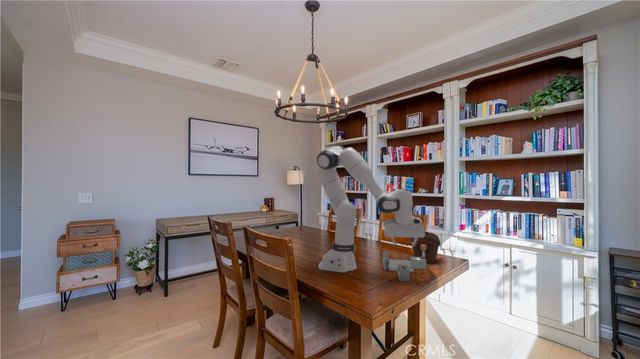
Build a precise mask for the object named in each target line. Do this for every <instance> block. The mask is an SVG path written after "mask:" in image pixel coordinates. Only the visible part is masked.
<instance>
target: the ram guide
mask: <svg viewBox="0 0 640 359" xmlns="http://www.w3.org/2000/svg"><path fill="white" fill-rule="evenodd" d="M413 258H422V257H414V256H410V259H409V261H410V263H411V265H412V267H413V269H414V270H427V263H426V260H425V259H413Z"/></svg>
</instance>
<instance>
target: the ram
mask: <svg viewBox="0 0 640 359" xmlns="http://www.w3.org/2000/svg"><path fill="white" fill-rule="evenodd" d="M421 250H422V258H413V259H425V250H426V244H421ZM425 260H426V259H425Z"/></svg>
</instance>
